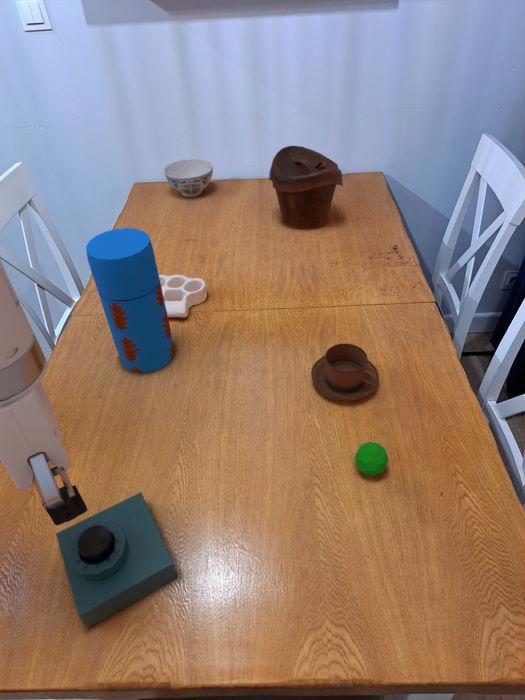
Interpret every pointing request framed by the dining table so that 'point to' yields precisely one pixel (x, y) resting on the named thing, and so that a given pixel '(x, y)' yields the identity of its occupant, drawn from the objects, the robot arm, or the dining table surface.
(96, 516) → the push-button housing
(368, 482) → the dining table surface
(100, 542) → the knob
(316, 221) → the brown lidded bucket
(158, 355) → the thermos
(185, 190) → the chinaware
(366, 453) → the polyhedron
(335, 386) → the cup and saucer
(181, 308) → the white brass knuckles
